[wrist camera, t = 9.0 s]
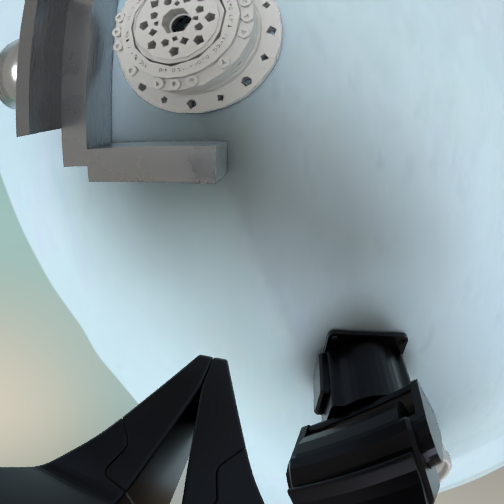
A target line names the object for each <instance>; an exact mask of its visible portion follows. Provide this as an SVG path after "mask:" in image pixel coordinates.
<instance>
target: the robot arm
mask: <svg viewBox="0 0 504 504" xmlns="http://www.w3.org/2000/svg"><path fill="white" fill-rule="evenodd" d="M333 336H337V337H336V338H332V337H333ZM401 339H403V340H401ZM400 340H401V341H400ZM407 342H408V338H407V336H406V334H404V333H381V332H359V331H341V330H333V331H330V332H329V333H328V336H327V340H326V344H325V349H324V353H321V354H320V355H318V359H317V364H316V368H315V372H314V412H315V413H316V414H317V415H322V422H320V423H317V424H314V425H311V426H310V425H308V426H305V427H302V428H301V431H300V434H299V437H298V439H297V442H296V445H295V448H294V450H293V453H292V456H291V459H290V461H289V464H288V468H287V472H286V476H287V483H288V487H289V489H288V494H289V496H290V498H291V500H292V502H293V504H434V502H435V499H436V496H437V493H438V490H439V487H440V481H439V477H438V473H437V470H436V465H438V464H441V463H443V450H442V438H441V433H440V430H439V427H438V424H437V421H436V418H435V415H434V412H433V410H432V408H431V406H430V404H429V402H428V400H427V398H426V396H425V394H424V392H423V390H422V388H421V386H420V384H419V382H418V380H417V379H416V380H414V381H412V382H411V381H410V378H409V375H408V372H407V369H406V366H405V363H404V360H403V357H402V354H403V352H404V349H405V347H406V344H407ZM245 448H246V447H245V442H244V438H243V433H242V429H241V424H240V419H239V415H238V410H237V405H236V400H235V396H234V391H233V386H232V381H231V376H230V371H229V366H228V361H227V360H225V359H220V358H214V359H213V358H212V357H210V356H205V355H199V356H197V357H196V358H195V359H194V360H193V361H191V362H190V363H189V364H188V365H187V366H185V367H184V368H183V369H182V370H181V371H179V372H178V373H177V374H176V375H174V376H173V377H172V378H171V379H170V380H168V381H167V382H166V383H165V384H163V385H162V386H161V387H160V388H159V389H157V390H156V391H155V392H154V393H152V394H151V395H150V396H149V397H147V398H146V399H145V400H144V401H142V402H141V403H140V404H139V405H137V406H136V407H135V408H134V409H132V410H131V411H130V412H129V413H128V414H126V415H125V416H124V417H123V419H119V420H118V421H117V422H116V423H114V424H113V425H112V426H110V427H109V428H108V429H106V430H105V431H103V432H102V433H101V434H99V435H97V436H96V437H94V438H93V439H91V440H89V441H88V442H86V443H84V444H83V445H81V446H79V447H77V448H76V449H74V450H72V451H70V452H68V453H67V454H65V455H63V456H61V457H59V458H57V459H55V460H53V461H51V462H49V463H46V464H44V465H40V466H35V467H0V504H170V502H171V499H172V497H173V494H174V492H175V490H176V487H177V485H178V482H179V480H180V477H181V475H182V472H183V470H184V467H185V465H186V462H187V460H188V457H189V462H188V468H187V475H186V481H185V487H184V495H183V500H182V504H264V501H263V499H262V497H261V495H260V492H259V490H258V487H257V485H256V482H255V479H254V477H253V474H252V470H251V467H250V463H249V459H248V455H247V450H246V449H245ZM189 455H190V456H189Z"/></svg>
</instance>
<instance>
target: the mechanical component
mask: <svg viewBox="0 0 504 504" xmlns="http://www.w3.org/2000/svg"><path fill="white" fill-rule="evenodd" d="M184 16H189V17H191V19H192V20H191V21H190V23H186V25H185V27H184V28H183V30H182V31H179V32H173V29H174V27H175V26H176V24H177V23H178V21H179V20H180V19H182V18H183V17H184ZM115 21H116V22H117V23H116V28H115V29H114V30H113V31H112V35H113V36H114V37H115V44H114V45H113V50H114V51H117V57H118V58H119V63H120V66H121V69H122V71H123V74H124V77H125V79H126V81H127V82H128V83H129V85H130V86H131V87H132V89H133V90H134V91H135V92H136V94H138V95H139V96H140V97H142V98H143V99H144V100H145V101H146V102H148V103H150V104H152V105H154V106H156V107H158V108H160V109H163V110H167V111H172V112H176V113H207V112H211V111H215V110H218V109H222V108H226V107H228V106H230V105H232V104H234V103H236V102H238V101H240V100H242V99H244V98H246V97H247V96H248V95H249V94H250V93H251V92H253V91H254V90H255V89H256V88H257V87H258V86H259V85H261V84H262V83H263V81H264V80H265V79H266V77H267V76H268V75H269V73H270V72H271V70H272V69H273V67H274V65H275V63H276V61H277V59H278V57H279V55H280V50H281V45H282V23H281V17H280V12H279V8H278V6H277V5H276V3H275V1H274V0H127V1H126V2H125V4H124V7H123V9H122V11H121V13H118V14H117V15H116V17H115ZM270 31H275V35H272V34H269V32H270ZM265 57H267V58H268V59H266V60H264V61H262V60H263V59H264V58H265ZM167 65H168V66H167ZM248 78H250V79H251V80H252V81H251V84H250V85H248V86H246V85H245V84H244V82H245V81H246V80H247V79H248ZM146 86H147V87H146ZM145 87H146V88H145ZM222 95H224V98H223V101H221V98H222ZM193 101H195V102H196V106H194V107H193Z"/></svg>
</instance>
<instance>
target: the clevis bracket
mask: <svg viewBox="0 0 504 504" xmlns="http://www.w3.org/2000/svg"><path fill="white" fill-rule="evenodd" d="M117 2H118V0H25V5H24V11H23V17H22V23H21V31H20V39H18V40H15V41H13V42H11V43H10V44H8V45H7V46H6V47H5V48H4V49H3V50H2V52H1V53H0V100H1V101H2V102H3V103H4V104H5V105H6V106H8V107H9V108H12V109H16V133H17V137H20V136H25V135H30V134H35V133H39V132H44V131H49V130H55V129H60V128H62V148H63V163H64V167H71V166H88V176H89V182H109V181H120V182H177V183H204V184H216V183H217V182H218V181H219V180H220V179H221V178H222V177H223V176H224V175H225V174H226V172H227V141H144V142H121V143H112V139H111V81H112V58H113V43H114V36H113V35H112V31H113V30H114V29H115V17H116V11H117Z"/></svg>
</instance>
